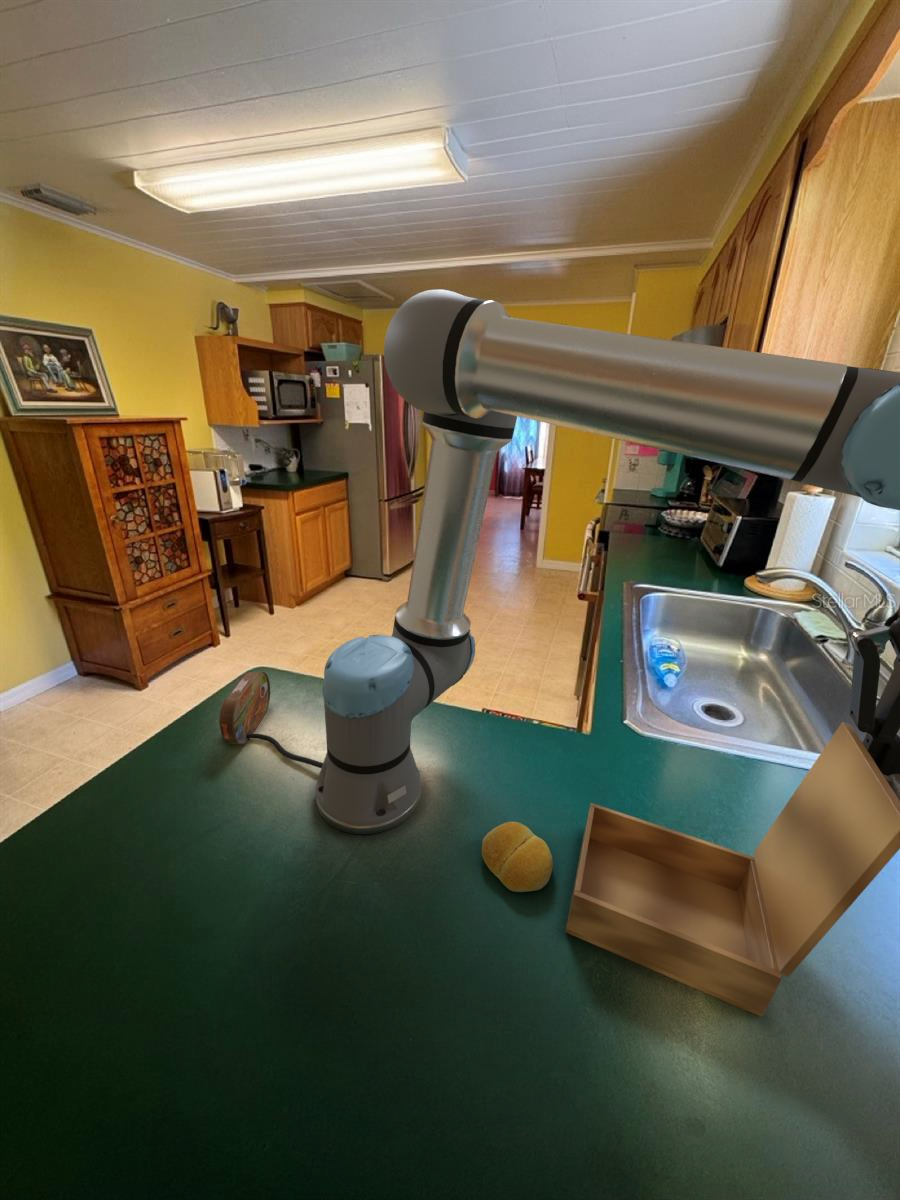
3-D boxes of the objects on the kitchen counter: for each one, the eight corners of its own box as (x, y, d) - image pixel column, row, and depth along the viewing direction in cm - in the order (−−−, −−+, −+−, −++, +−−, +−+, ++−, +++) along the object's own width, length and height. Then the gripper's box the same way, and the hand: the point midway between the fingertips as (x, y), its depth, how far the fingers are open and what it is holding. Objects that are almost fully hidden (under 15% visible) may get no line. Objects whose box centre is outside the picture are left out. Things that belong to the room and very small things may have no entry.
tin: (239, 755, 75) (233, 711, 72) (219, 754, 75) (212, 710, 72) (273, 701, 89) (269, 663, 86) (256, 700, 89) (252, 662, 86)
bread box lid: (905, 824, 35) (990, 857, 34) (842, 721, 48) (902, 742, 46) (779, 973, 44) (842, 1004, 42) (752, 852, 56) (801, 874, 54)
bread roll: (523, 909, 55) (527, 885, 53) (470, 856, 61) (473, 833, 59) (566, 870, 60) (571, 847, 58) (513, 824, 66) (517, 802, 64)
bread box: (565, 932, 52) (573, 894, 50) (583, 836, 65) (590, 802, 62) (762, 1017, 46) (782, 978, 44) (740, 892, 58) (755, 857, 56)
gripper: (901, 571, 38) (802, 796, 47) (1127, 602, 34) (972, 844, 42) (865, 550, 45) (785, 751, 53) (1052, 574, 40) (931, 789, 49)
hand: (868, 792), depth 48 cm, fingers closed
